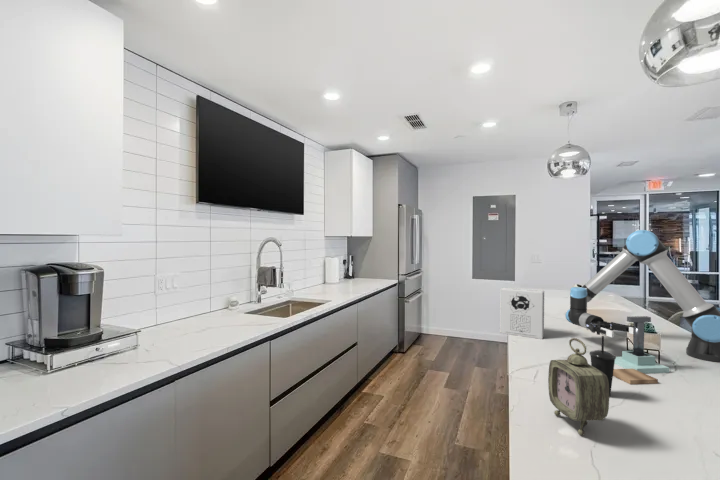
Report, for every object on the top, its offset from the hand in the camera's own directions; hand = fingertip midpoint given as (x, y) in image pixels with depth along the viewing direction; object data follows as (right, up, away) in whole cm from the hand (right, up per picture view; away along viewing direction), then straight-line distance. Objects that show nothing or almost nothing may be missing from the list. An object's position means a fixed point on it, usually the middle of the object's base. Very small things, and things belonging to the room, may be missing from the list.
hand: (627, 334), depth 156 cm
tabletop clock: (-53, -13, -52) cm, 75 cm away
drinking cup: (-32, -13, -31) cm, 46 cm away
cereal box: (-26, -12, +44) cm, 53 cm away
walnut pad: (-11, -13, -17) cm, 24 cm away
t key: (+1, -10, -5) cm, 12 cm away
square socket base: (+1, -12, -5) cm, 13 cm away
